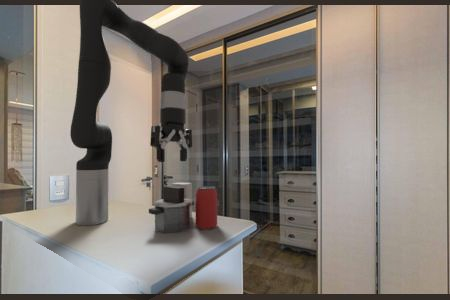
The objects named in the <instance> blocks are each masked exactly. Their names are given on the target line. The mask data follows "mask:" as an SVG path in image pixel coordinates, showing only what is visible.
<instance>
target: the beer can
mask: <svg viewBox="0 0 450 300" xmlns="http://www.w3.org/2000/svg"><path fill="white" fill-rule="evenodd" d="M195 192H196V193H195V227H197V228H198V229H200V230H211V229H214V228H216V227H218V191H217V189H216V186H212V185H203V186H202V185H201V186H198V187H197V190H196V191H195Z"/></svg>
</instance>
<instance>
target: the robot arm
mask: <svg viewBox="0 0 450 300" xmlns="http://www.w3.org/2000/svg"><path fill="white" fill-rule="evenodd" d="M79 22H80V25H79V26H80V34H79V35H80V37H79V39H80V40H79V41H80V42H79V55H78V57H79V58H78V66H77V67H78V68H77V84H76V95H75V103H74V109H73V113H72V120H71V123H70V131H69V132H70V135H69V136H70V139H71V140H70V141H71V143H73V145H74V146H75V147H77V148H79V149H86V154H85V156H84V157H82V158H81V159H78V160H77V161H76V166H75V171H76V173H75V180H76V181H75V183H76V185H75V189H76V190H75V193H76V194H75V224H76V225H77V226H93V225H98V224H102V223H105V222H107V221H108V220H109V166H110V163H111V160H112V151H113V150H112V148H113V147H112V146H113V133H112V130H111V128H110V126H109V125H108V124H106V123H104V122H100V121H97V112H98V111H97V110H98V107H99V106H98V105H99V103H100V101H101V99H102V98H103V97H104V94H105V93H106V92H107V91H108V88H109V86H110V83H111V75H112V73H111V72H112V62H111V58H110V54H109V50H108V49H107V46H106V41H105V40H104V35H103V28H106V29H108V30H111V31H114V32H116V33H119V34H120V35H122V36H124V37H126V38H127V39H128V40H130V41H131V42H132V43H133V44H135V45H136V46H138V47H139V48H141V49H143V50H144V51H145V52H147V53H149V54H151V55H153V56H155V57H156V58H157V59H159V60H160V61H161V62H162V63H164V64H165V65H167V72H165V73H164V74H163V75H162V76H161V88H160V89H161V93H160V94H161V96H160V101H159V102H160V106H159V107H160V108H159V109H160V110H159V112H160V113H159V114H160V115H159V117H160V118H159V122H160V124H161V125H158V124H157V125H152V126H151V128H150V129H151V131H150V141H149V142H150V143H149V144H150V145H149V146H150V147H153V148H155V149H156V160H157V162H158V163H164V162H165V155H166V154H165V152H166V151H165V150H166V149H165V147H166V146H167V144H168V143H169V142H170V143H171V142H173V143H175V144H176V145H178V146H179V161H180V162H186V161H187V159H188V149H190V148H192V147H193V134H192V133H193V131H192V129H191V128H188V129H185V124H186V106H187V105H186V96H185V95H186V89H185V88H186V82H185V81H186V79H187V75H188V74H187V73H188V68H189V57H188V54H187V51H186V50H185V49H184V48H183V47H182V46H181V44H179V42H177V41H176V40H175V39H173V38H172V37H171V36H168V35H166V34H164V33H161V32H159V31H158V30H157V29H154V28H153V27H151V25H148V24H147V23H144V22H143V21H140V20H137V19H134V18H132V17H130V16H129V15H128V14H126V13H125V12H124V11H123V9H121V8H120V6H118V5H117V3H116V2H115V0H79ZM160 134H161V136H160Z"/></svg>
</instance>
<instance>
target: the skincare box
mask: <svg viewBox="0 0 450 300" xmlns="http://www.w3.org/2000/svg"><path fill="white" fill-rule="evenodd" d="M170 186H176V187H184V198H187V199H191V200H192V201H193V193H192V192H193V187H192V182H173V183H171V185H170ZM192 217H193V205H192V206H190V218H192Z"/></svg>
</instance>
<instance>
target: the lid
mask: <svg viewBox="0 0 450 300" xmlns="http://www.w3.org/2000/svg"><path fill="white" fill-rule="evenodd" d="M162 188H163V191H162V193H163V194H162V195H163V196H162V199H158V200H156V201H154V202H153V206H154V208H155V207H157V208H165V209H172V208H182V207H187V206H190V205H192V201H193V199H192V200H191V199H187V198H184V187H176V186H172V185H164V186H163V187H162ZM192 206H193V205H192Z"/></svg>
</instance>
